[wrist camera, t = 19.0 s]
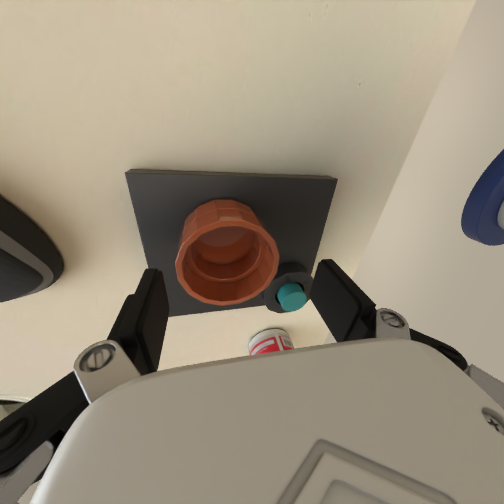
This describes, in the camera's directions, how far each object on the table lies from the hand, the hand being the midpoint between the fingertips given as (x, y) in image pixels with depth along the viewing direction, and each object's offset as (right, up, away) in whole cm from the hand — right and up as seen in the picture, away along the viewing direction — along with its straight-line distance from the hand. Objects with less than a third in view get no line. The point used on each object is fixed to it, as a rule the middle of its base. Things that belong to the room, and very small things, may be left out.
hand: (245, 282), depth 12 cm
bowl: (-2, +3, +5) cm, 6 cm away
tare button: (+4, -2, +9) cm, 10 cm away
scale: (-1, +2, +8) cm, 8 cm away
